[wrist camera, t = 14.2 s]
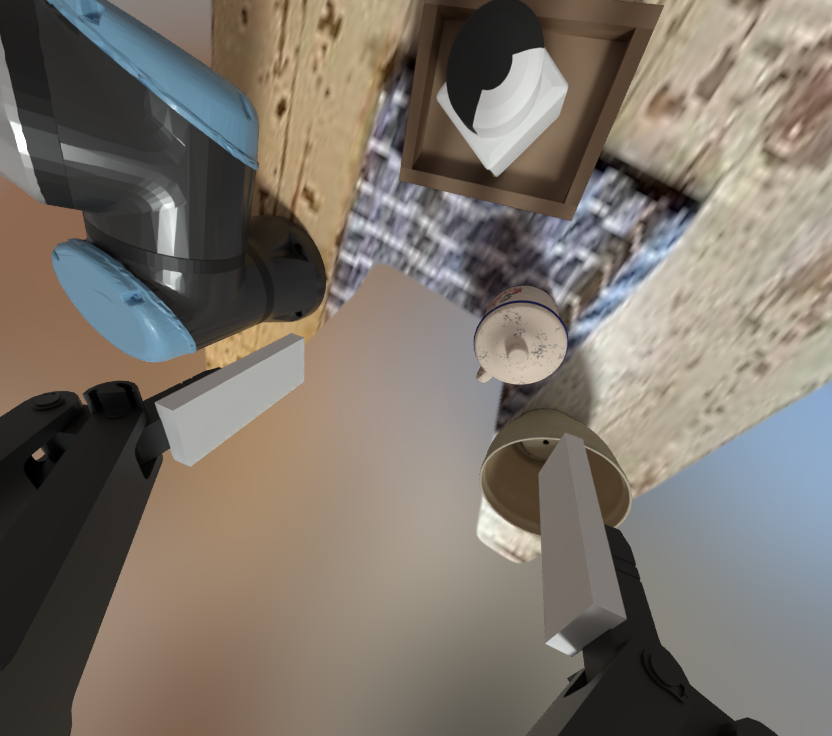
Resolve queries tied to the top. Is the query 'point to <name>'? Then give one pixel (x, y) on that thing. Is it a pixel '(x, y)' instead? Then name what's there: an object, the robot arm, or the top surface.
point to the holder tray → (565, 138)
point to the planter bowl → (526, 455)
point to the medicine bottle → (501, 83)
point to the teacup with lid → (520, 337)
